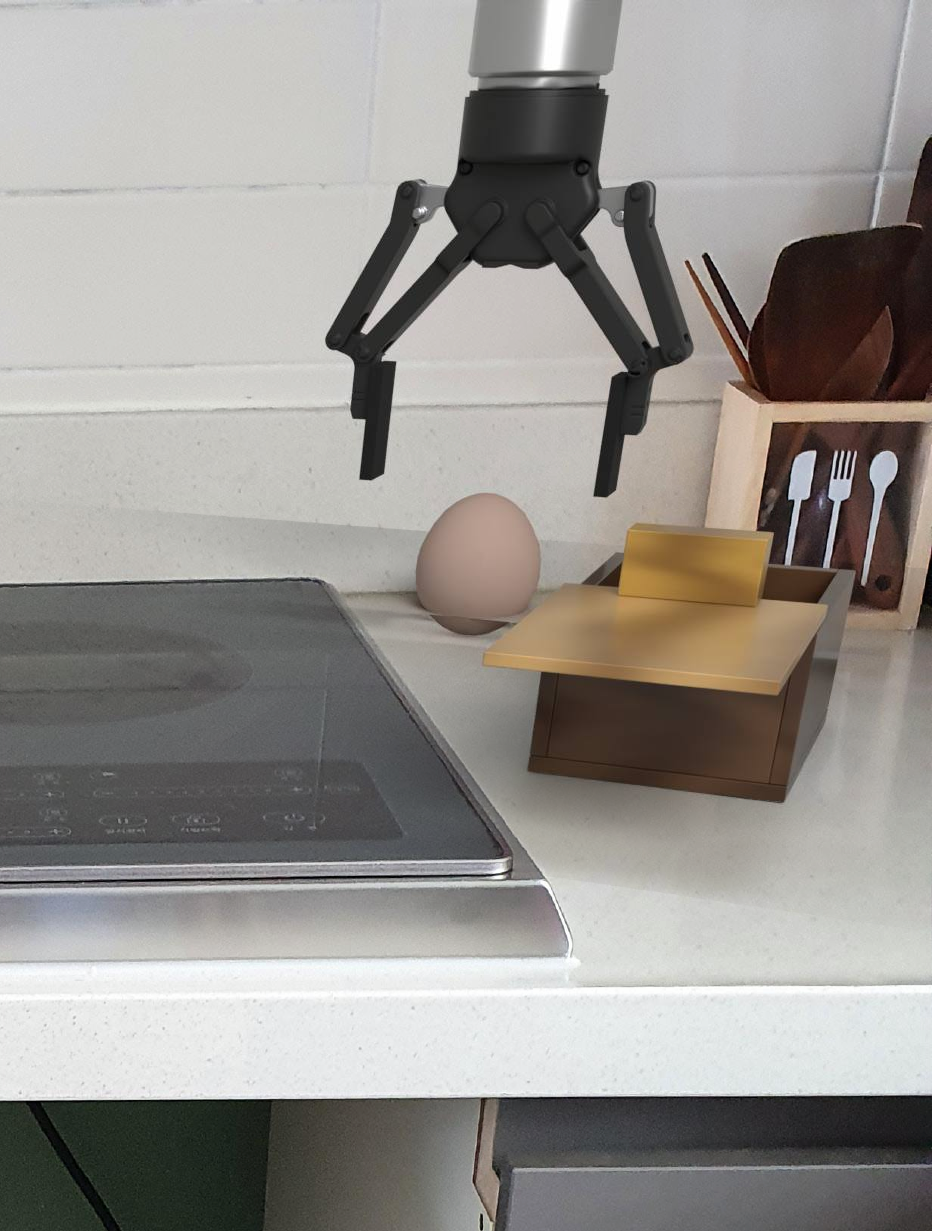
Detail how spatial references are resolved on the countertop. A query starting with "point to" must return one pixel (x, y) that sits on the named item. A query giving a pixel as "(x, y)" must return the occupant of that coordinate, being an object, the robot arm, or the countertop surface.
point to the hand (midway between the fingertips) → (485, 485)
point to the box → (697, 711)
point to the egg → (478, 564)
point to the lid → (671, 617)
